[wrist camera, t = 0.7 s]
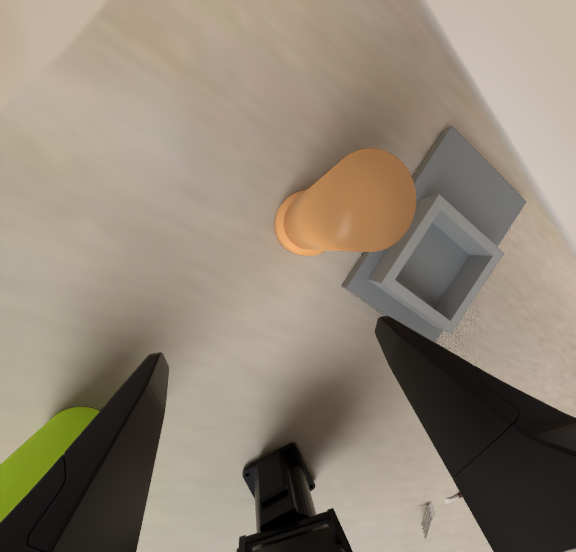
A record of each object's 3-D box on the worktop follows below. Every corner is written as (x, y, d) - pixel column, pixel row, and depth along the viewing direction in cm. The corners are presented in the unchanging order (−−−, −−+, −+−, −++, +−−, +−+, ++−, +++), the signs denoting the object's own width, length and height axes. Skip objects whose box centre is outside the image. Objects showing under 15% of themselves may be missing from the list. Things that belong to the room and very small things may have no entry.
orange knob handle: (339, 241, 25) (439, 236, 12) (287, 264, 24) (337, 283, 11) (319, 186, 24) (407, 116, 11) (264, 207, 23) (292, 159, 10)
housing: (424, 342, 28) (450, 356, 25) (341, 286, 26) (357, 292, 22) (514, 203, 28) (554, 197, 25) (442, 131, 26) (475, 112, 22)
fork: (508, 471, 34) (524, 485, 33) (414, 522, 32) (425, 540, 30) (505, 457, 34) (522, 469, 32) (410, 507, 32) (421, 524, 30)
